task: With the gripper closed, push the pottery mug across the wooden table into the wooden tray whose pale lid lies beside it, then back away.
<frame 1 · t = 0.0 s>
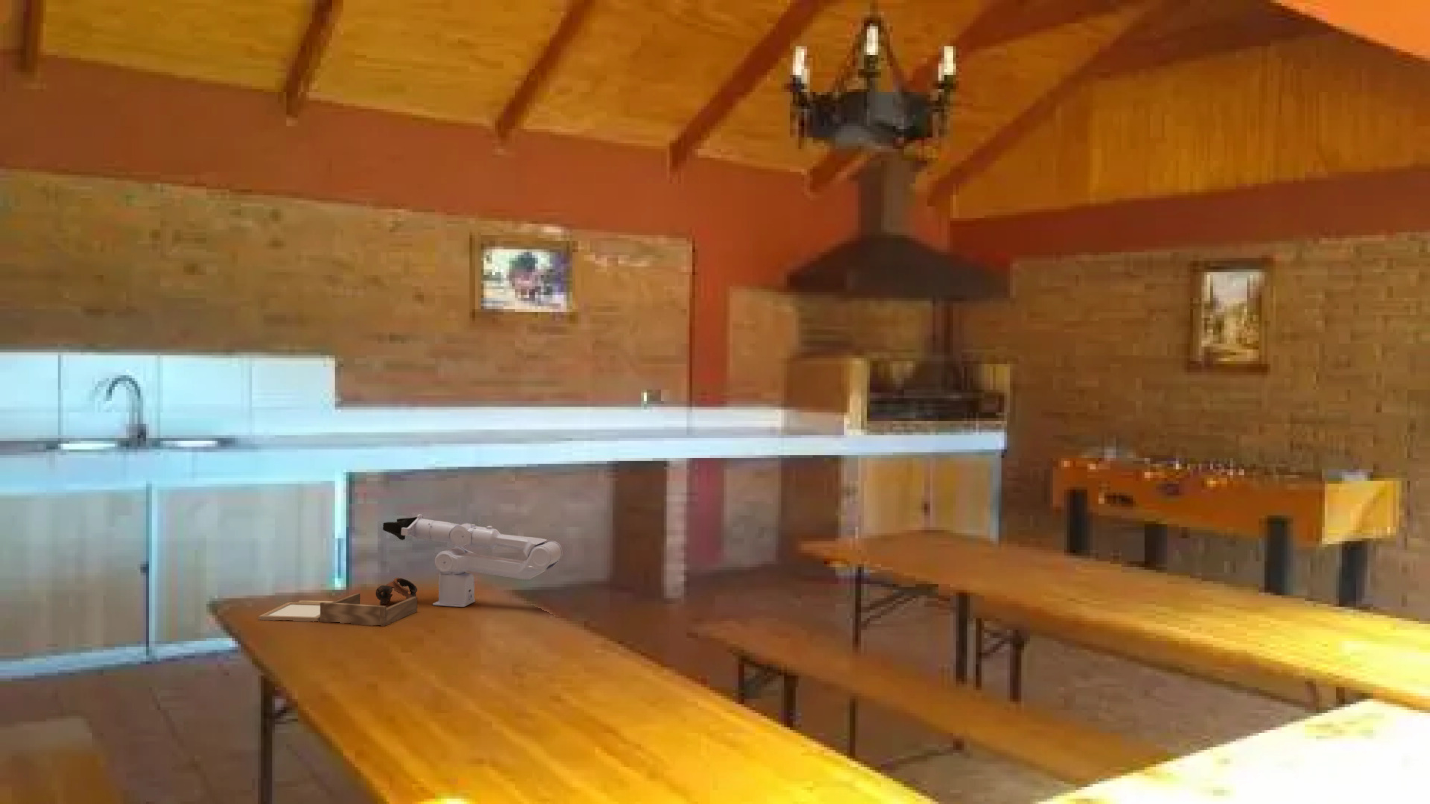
hand: (390, 524, 321), 22 cm above the table, tool horizontal, fingers open, 7 cm apart
frame lid: (302, 613, 303), on the table
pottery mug: (394, 605, 316), on the table
wooden tray: (370, 616, 301), on the table
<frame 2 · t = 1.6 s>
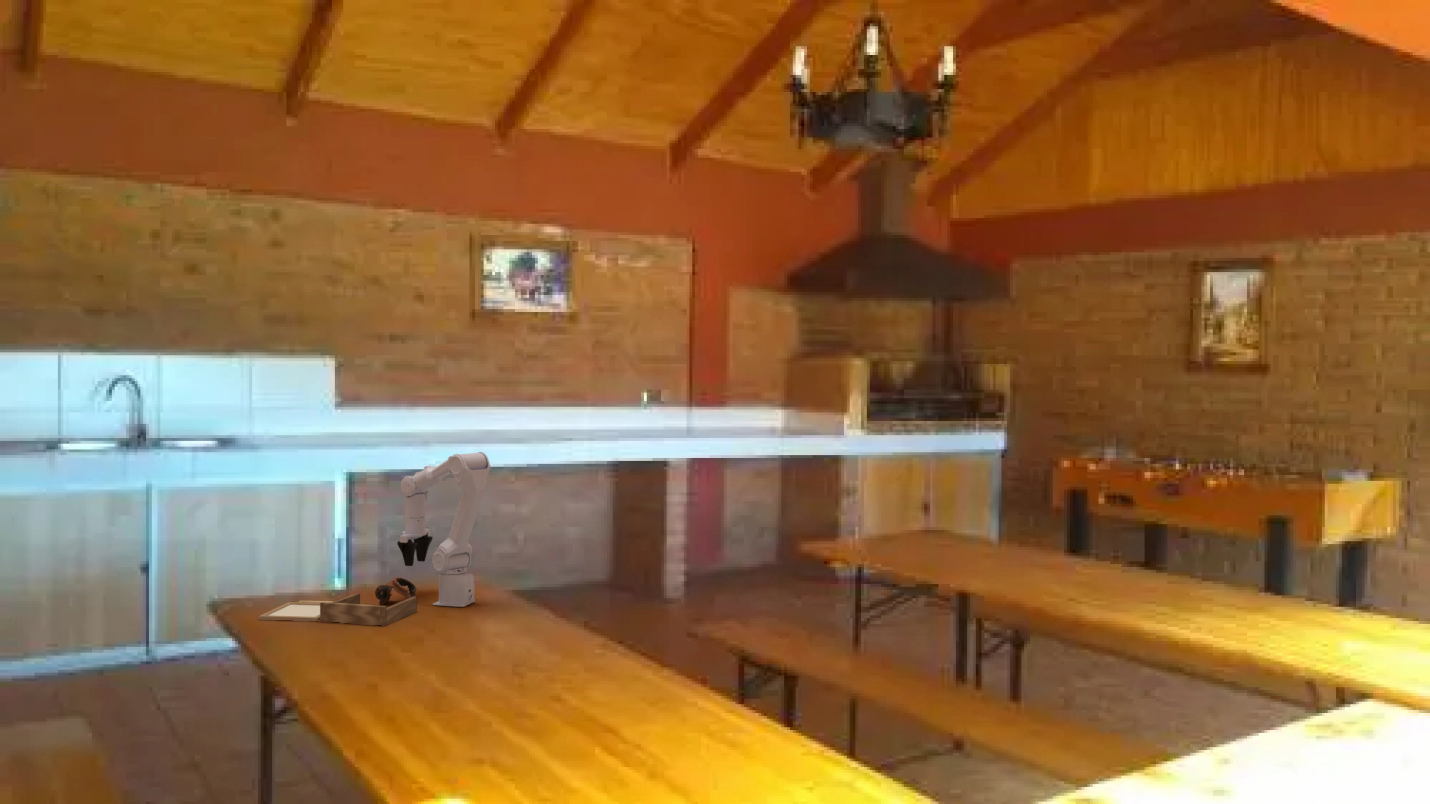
hand: (415, 563, 327), 9 cm above the table, tool pointing down, fingers open, 7 cm apart
nothing on the table moved.
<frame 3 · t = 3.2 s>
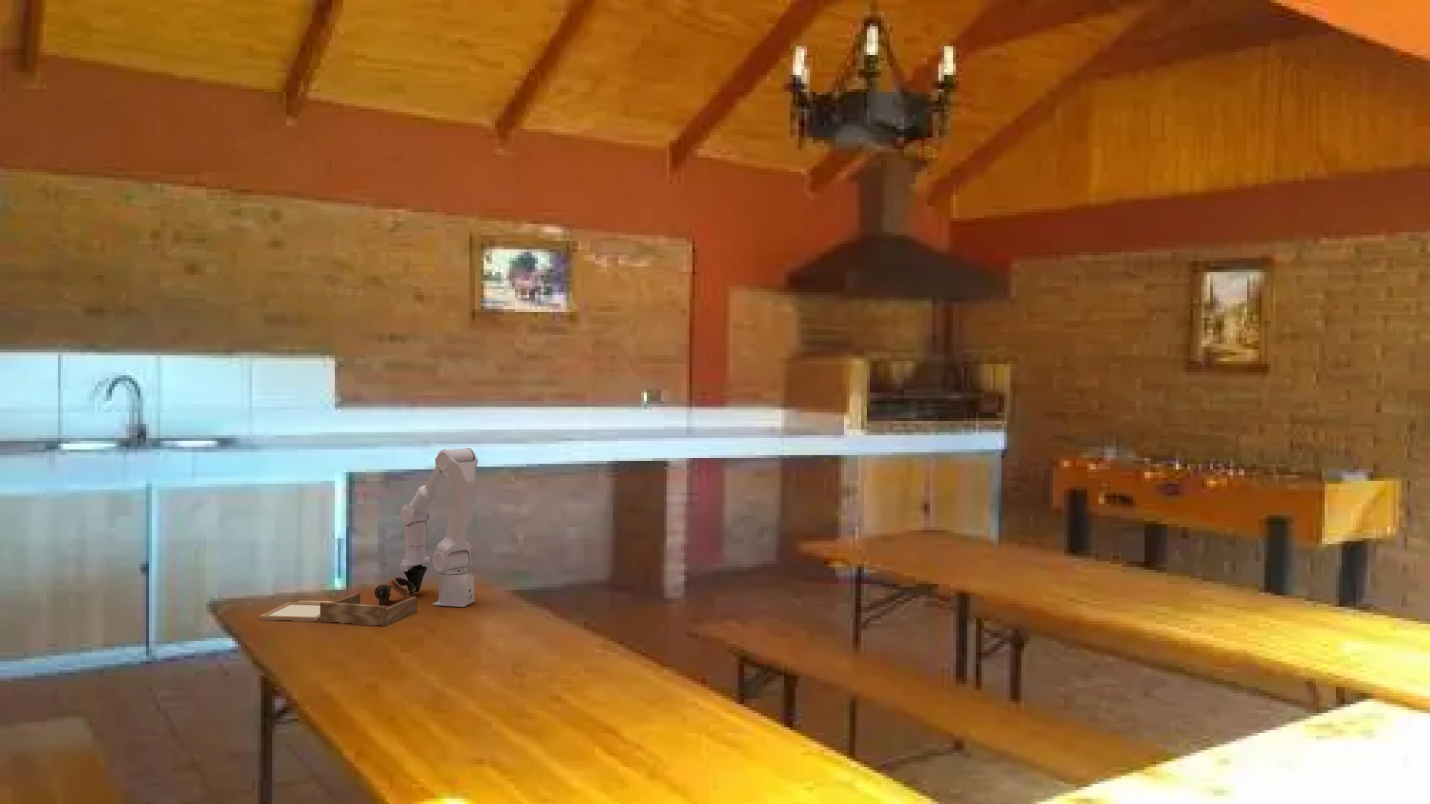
hand: (415, 591, 327), 1 cm above the table, tool pointing down, fingers closed
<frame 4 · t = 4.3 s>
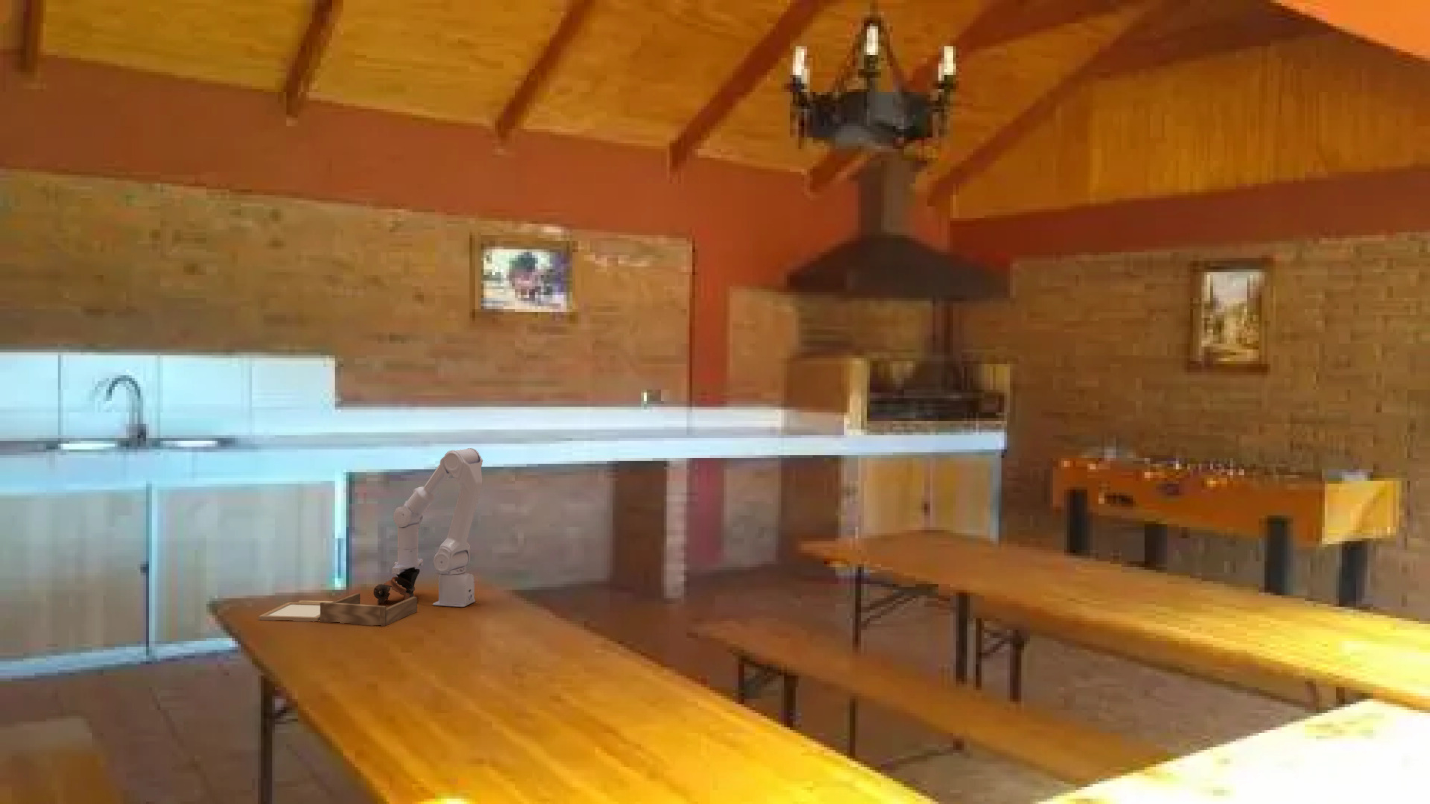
hand: (407, 594, 323), 1 cm above the table, tool pointing down, fingers closed
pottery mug: (392, 604, 317), on the table, touching gripper
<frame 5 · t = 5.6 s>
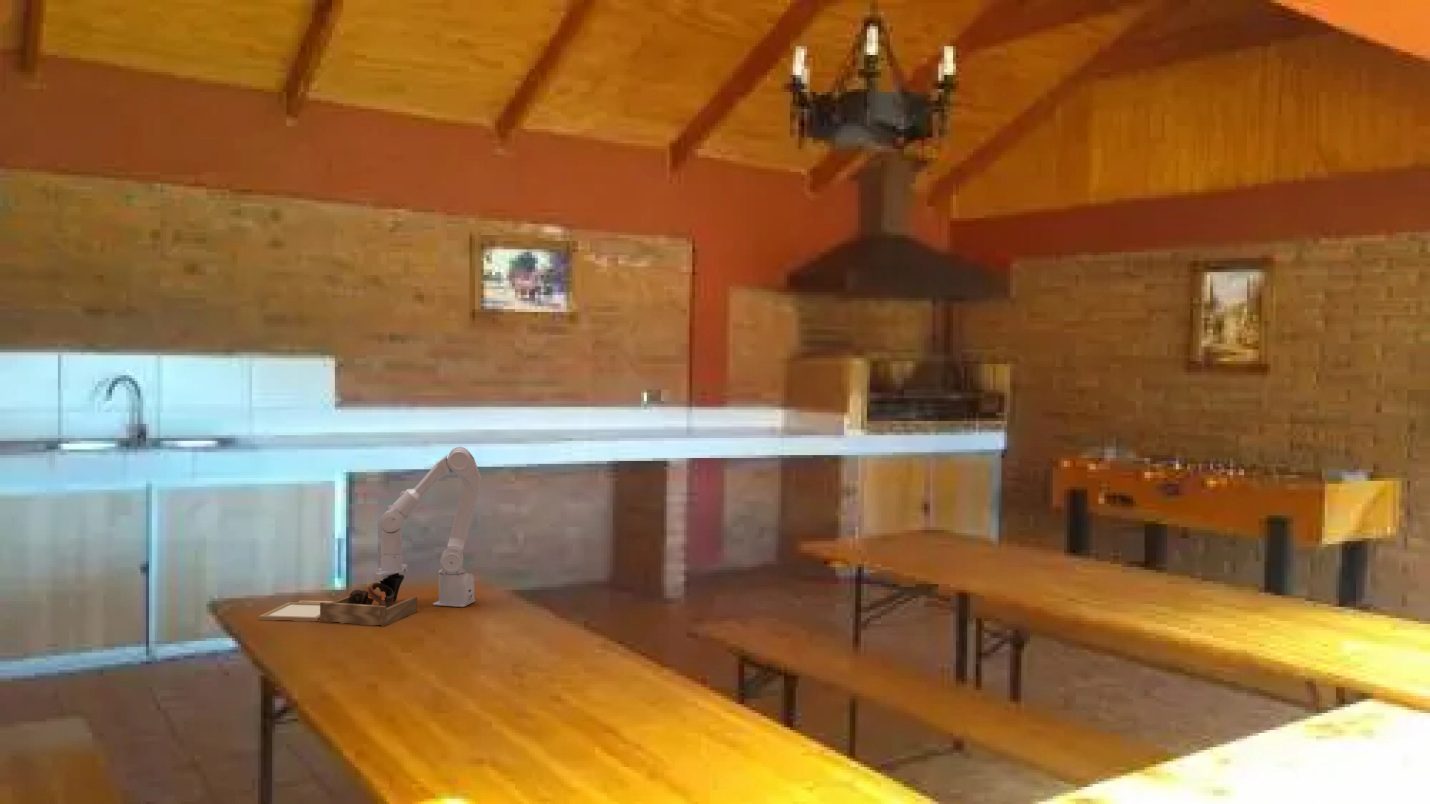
hand: (391, 601, 314), 1 cm above the table, tool pointing down, fingers closed
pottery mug: (371, 610, 308), on the table, touching gripper
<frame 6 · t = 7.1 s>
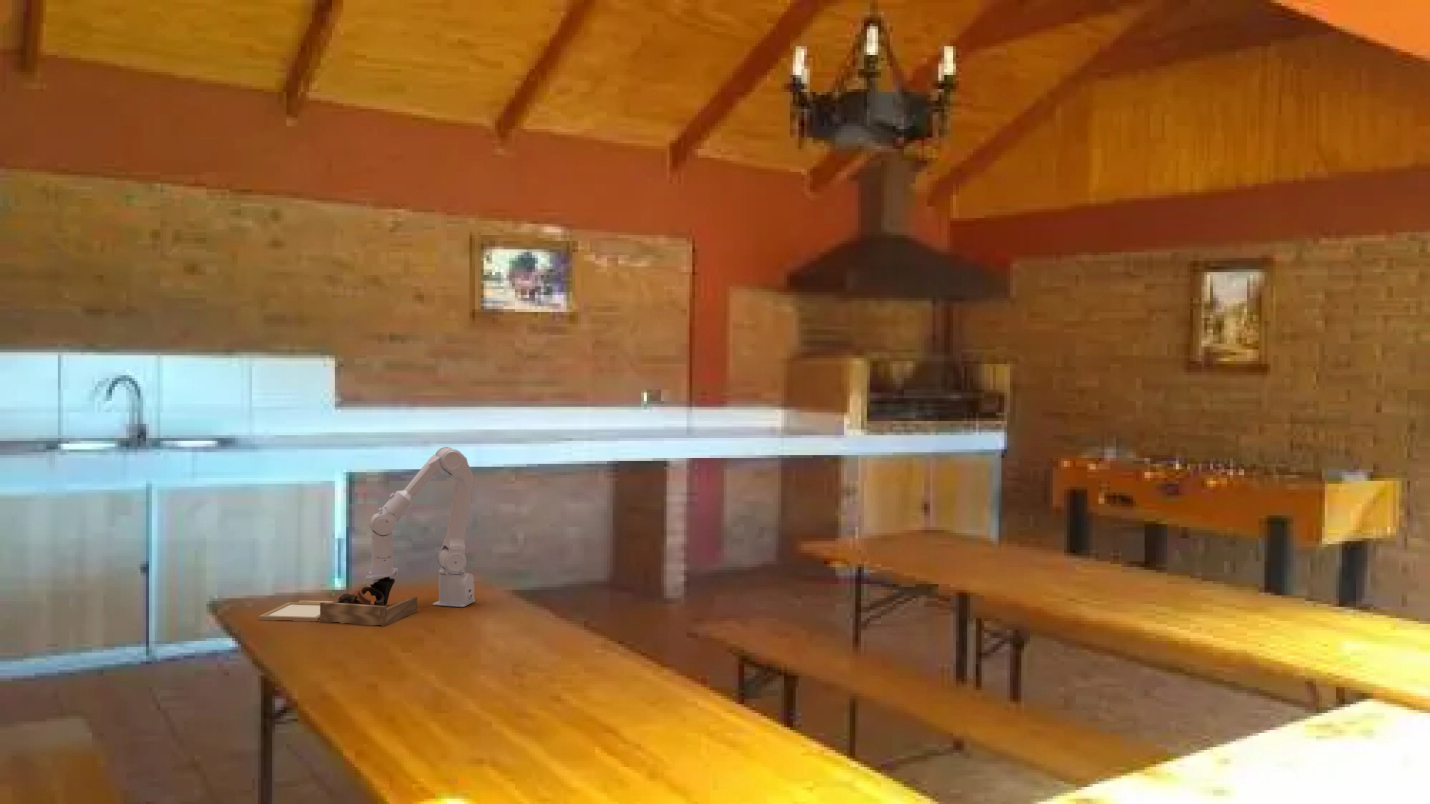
hand: (382, 605, 309), 1 cm above the table, tool pointing down, fingers closed
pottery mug: (360, 615, 303), on the table, touching wooden tray, gripper
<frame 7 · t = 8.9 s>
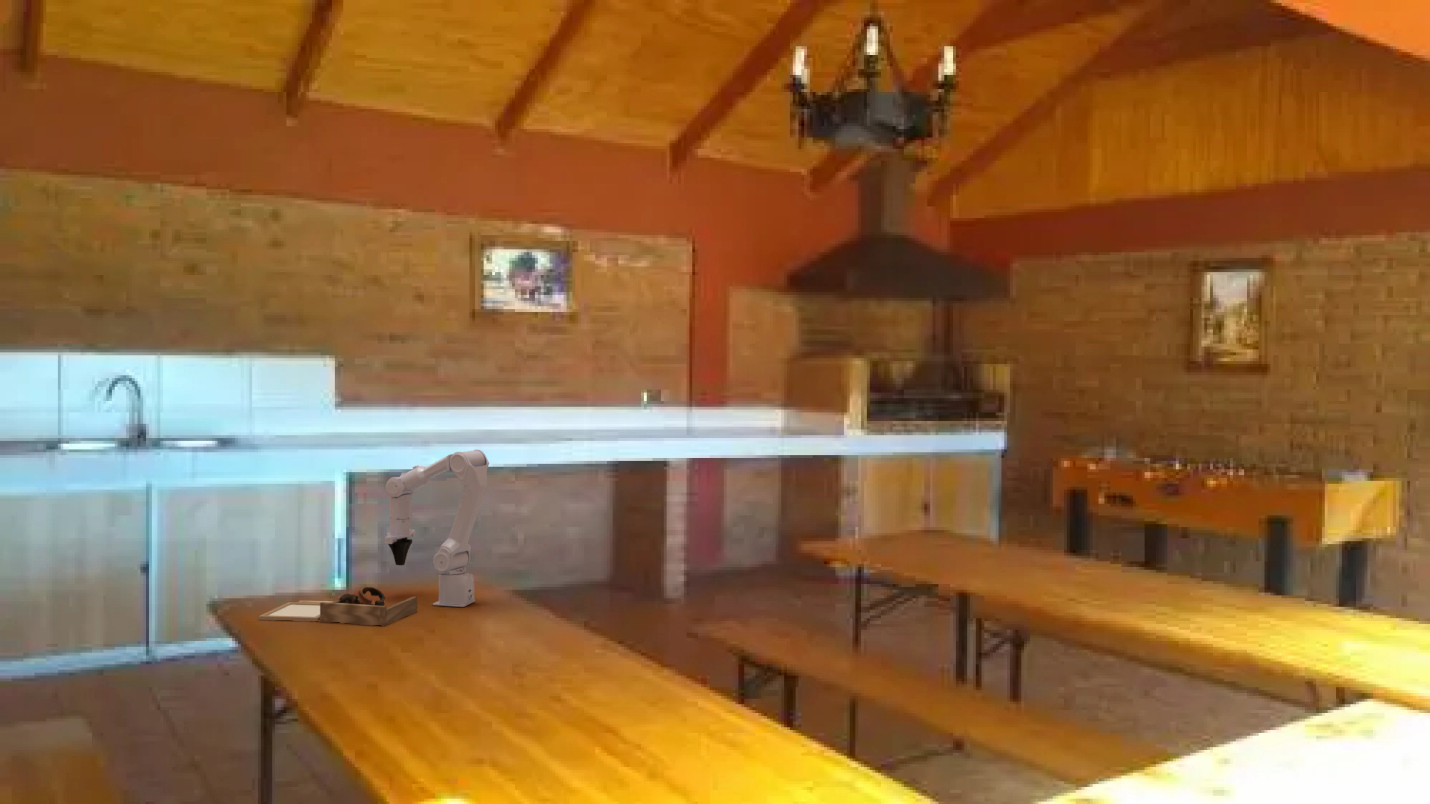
hand: (400, 564, 324), 9 cm above the table, tool pointing down, fingers closed
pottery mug: (361, 615, 303), on the table
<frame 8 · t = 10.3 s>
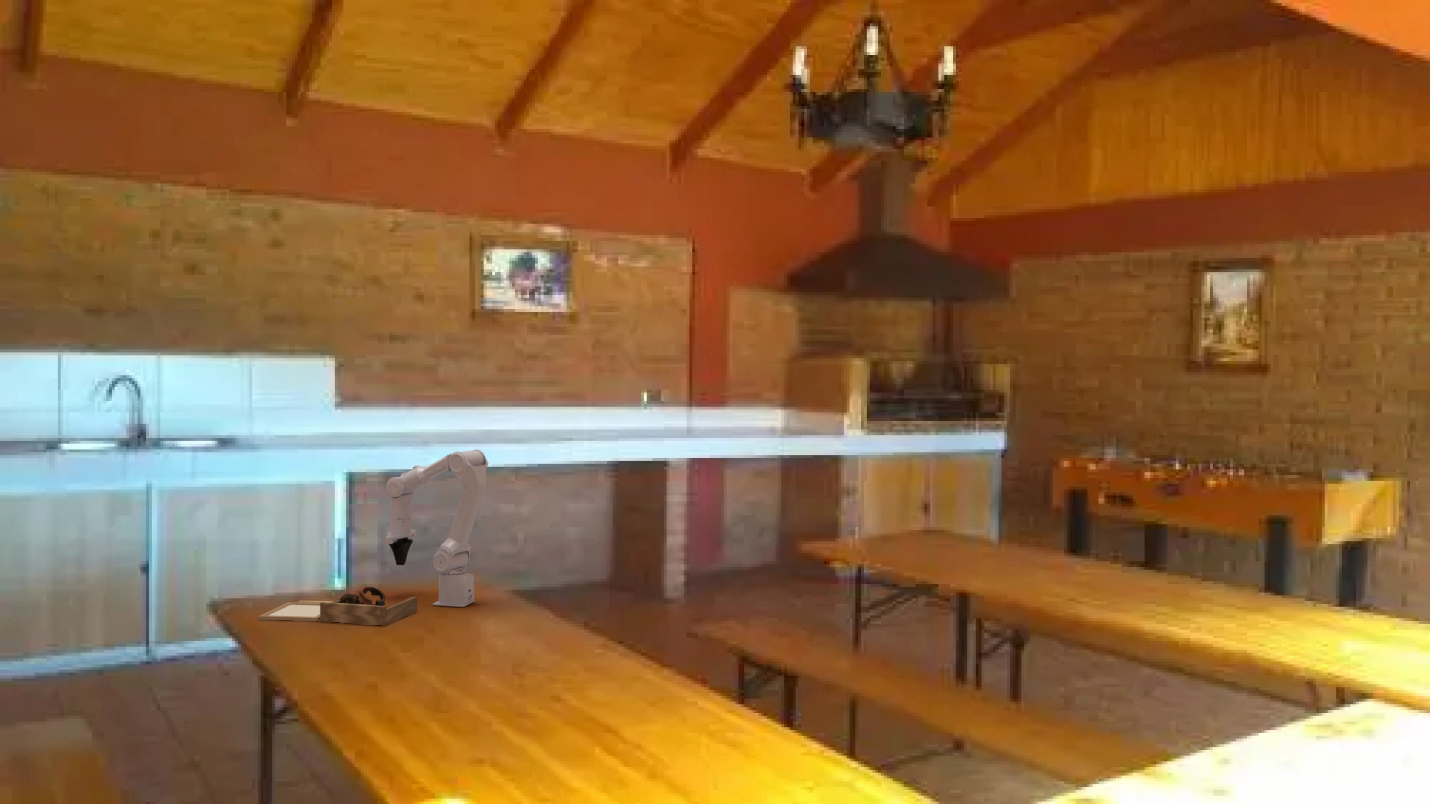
hand: (400, 564, 325), 9 cm above the table, tool pointing down, fingers closed
nothing on the table moved.
at the end: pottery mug inside the target area on the wooden tray (4.8 cm from its centre), point 0.0 cm above the wooden tray's base; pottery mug tilted 0°; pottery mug touching table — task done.
